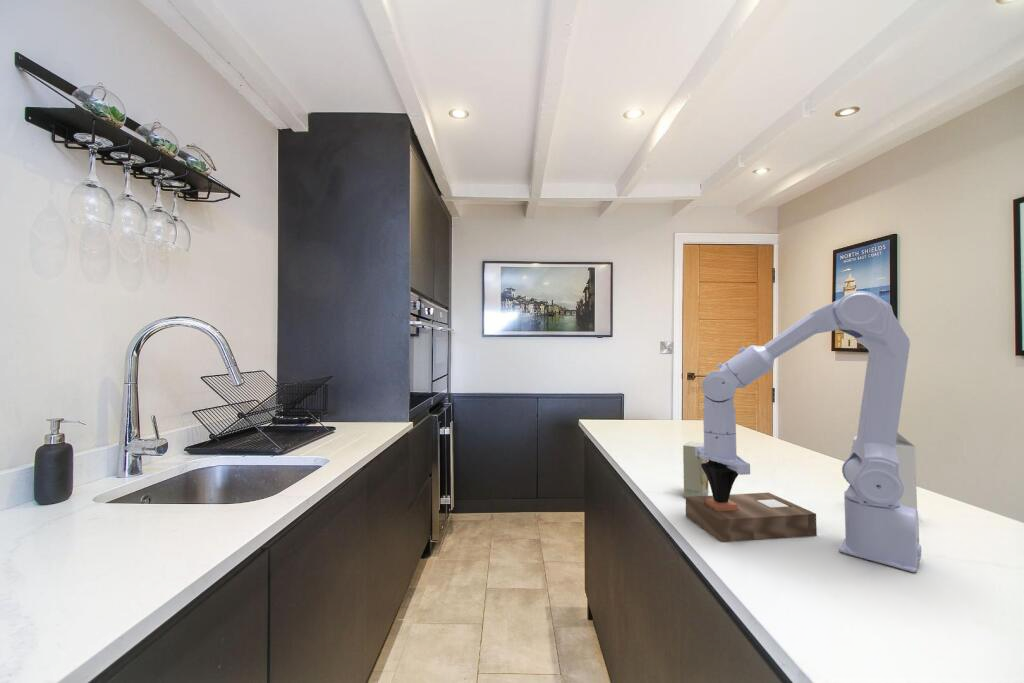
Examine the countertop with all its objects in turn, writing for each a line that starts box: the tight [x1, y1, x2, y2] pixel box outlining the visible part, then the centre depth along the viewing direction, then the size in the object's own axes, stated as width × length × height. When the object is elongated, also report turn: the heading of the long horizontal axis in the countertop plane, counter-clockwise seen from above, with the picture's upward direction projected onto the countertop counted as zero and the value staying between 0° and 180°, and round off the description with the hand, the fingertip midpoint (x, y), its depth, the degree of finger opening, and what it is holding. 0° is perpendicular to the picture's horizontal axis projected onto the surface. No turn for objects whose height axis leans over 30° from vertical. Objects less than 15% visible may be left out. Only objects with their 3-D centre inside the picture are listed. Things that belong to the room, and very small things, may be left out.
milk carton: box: [852, 431, 918, 510], centre depth 88 cm, size 7×7×19 cm
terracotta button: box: [706, 498, 737, 511], centre depth 82 cm, size 4×4×4 cm
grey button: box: [756, 499, 789, 508], centre depth 83 cm, size 4×4×4 cm
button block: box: [685, 492, 818, 543], centre depth 82 cm, size 19×12×4 cm, turn 97°
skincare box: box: [682, 441, 710, 498], centre depth 100 cm, size 6×4×12 cm
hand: (721, 501), depth 82 cm, fingers closed, pressing on terracotta button
